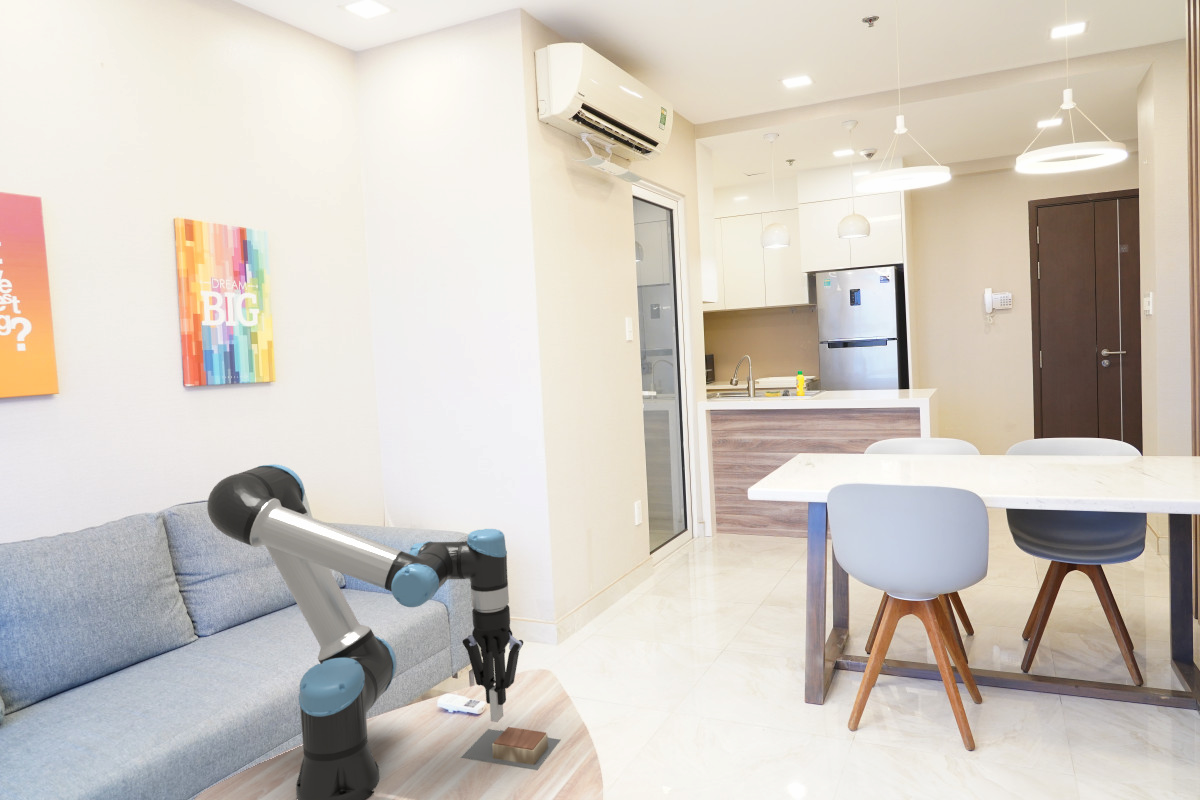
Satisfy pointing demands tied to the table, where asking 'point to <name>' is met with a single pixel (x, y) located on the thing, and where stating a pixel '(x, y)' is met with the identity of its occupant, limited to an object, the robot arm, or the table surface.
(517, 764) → the mat
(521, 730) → the brown wooden block
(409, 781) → the table surface
